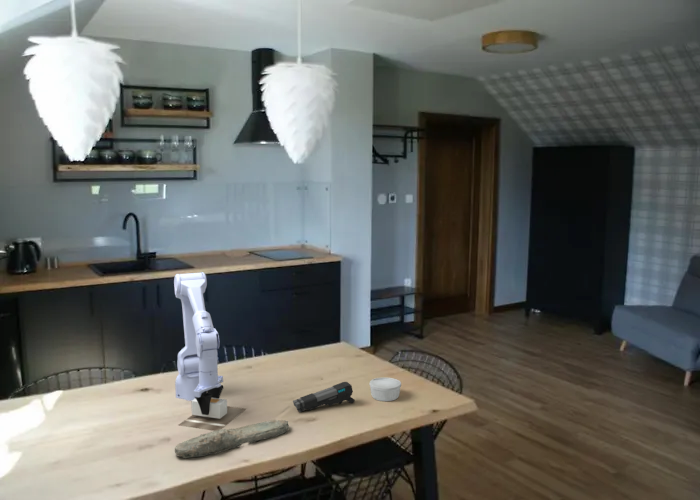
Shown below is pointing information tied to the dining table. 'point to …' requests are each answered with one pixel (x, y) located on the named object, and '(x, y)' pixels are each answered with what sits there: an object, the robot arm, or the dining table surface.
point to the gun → (325, 397)
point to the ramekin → (385, 389)
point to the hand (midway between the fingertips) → (209, 411)
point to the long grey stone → (230, 438)
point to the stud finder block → (211, 408)
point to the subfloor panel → (212, 420)
